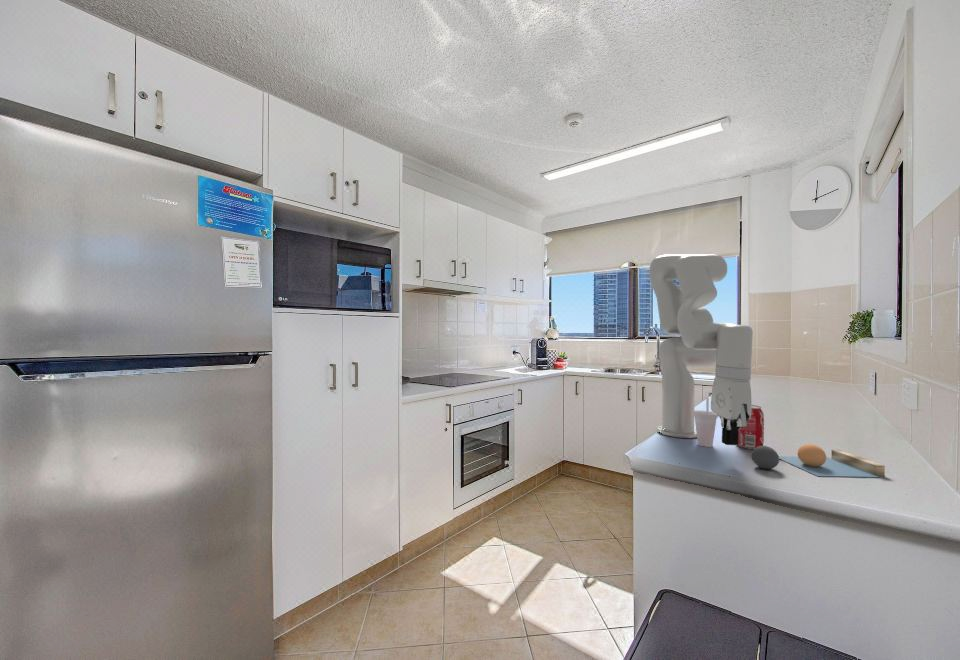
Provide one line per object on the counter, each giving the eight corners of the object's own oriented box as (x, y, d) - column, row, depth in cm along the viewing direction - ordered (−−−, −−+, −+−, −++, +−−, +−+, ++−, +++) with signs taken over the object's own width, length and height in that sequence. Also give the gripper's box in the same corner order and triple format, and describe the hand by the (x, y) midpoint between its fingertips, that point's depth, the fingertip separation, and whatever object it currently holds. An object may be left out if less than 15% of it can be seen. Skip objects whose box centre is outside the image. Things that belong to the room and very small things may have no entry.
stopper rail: (831, 459, 103) (831, 449, 103) (839, 459, 103) (839, 449, 103) (875, 476, 91) (875, 465, 91) (884, 476, 91) (884, 465, 91)
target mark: (774, 456, 105) (774, 456, 105) (828, 457, 104) (828, 457, 104) (817, 476, 91) (817, 475, 91) (880, 477, 90) (880, 476, 90)
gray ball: (776, 442, 96) (771, 460, 98) (751, 439, 98) (746, 456, 100) (785, 457, 91) (779, 475, 94) (758, 454, 93) (753, 471, 95)
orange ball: (811, 439, 100) (815, 460, 100) (790, 443, 100) (794, 464, 100) (830, 445, 95) (834, 468, 94) (807, 449, 95) (811, 472, 95)
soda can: (754, 443, 117) (754, 404, 117) (769, 451, 110) (769, 408, 110) (729, 443, 117) (729, 403, 117) (743, 450, 110) (743, 408, 110)
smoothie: (713, 449, 111) (713, 400, 111) (689, 444, 115) (689, 397, 115) (721, 445, 115) (721, 398, 115) (697, 440, 120) (698, 395, 120)
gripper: (702, 368, 106) (699, 434, 107) (735, 378, 91) (732, 454, 92) (730, 368, 106) (727, 434, 107) (768, 378, 91) (764, 455, 92)
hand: (729, 443), depth 100 cm, fingers closed
